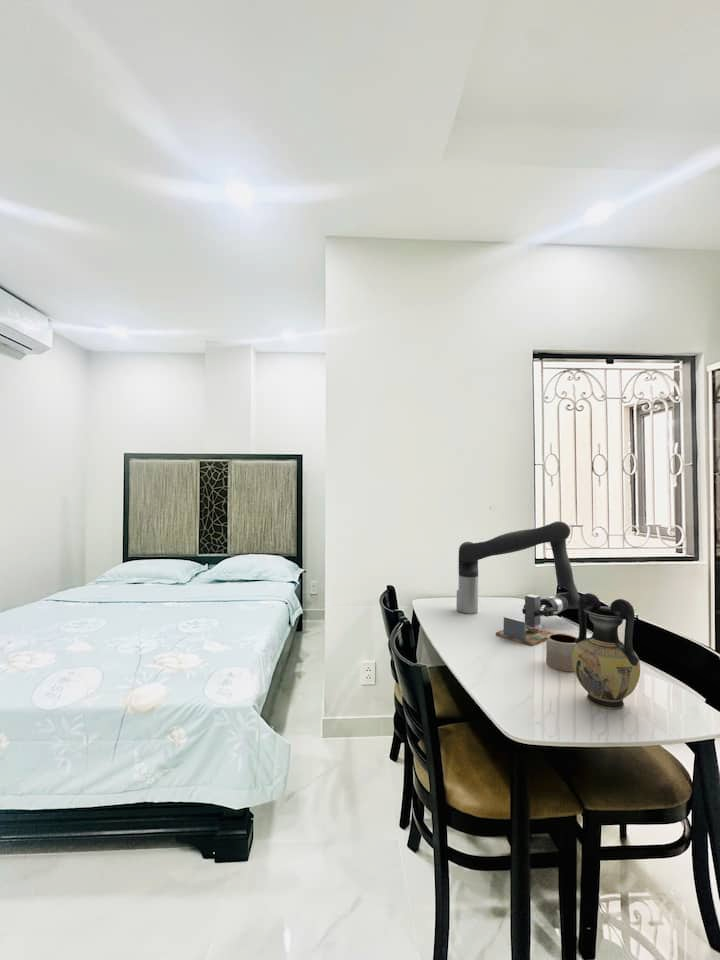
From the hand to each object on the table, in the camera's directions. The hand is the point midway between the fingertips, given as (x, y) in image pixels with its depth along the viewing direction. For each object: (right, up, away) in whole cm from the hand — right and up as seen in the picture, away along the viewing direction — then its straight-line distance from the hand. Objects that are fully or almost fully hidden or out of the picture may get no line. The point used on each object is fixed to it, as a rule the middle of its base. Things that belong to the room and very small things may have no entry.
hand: (529, 612), depth 190 cm
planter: (-1, -9, -33) cm, 34 cm away
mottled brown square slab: (-2, -9, -2) cm, 9 cm away
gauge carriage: (0, -7, 0) cm, 8 cm away
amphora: (0, -9, -58) cm, 59 cm away
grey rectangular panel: (-8, -8, -7) cm, 13 cm away
